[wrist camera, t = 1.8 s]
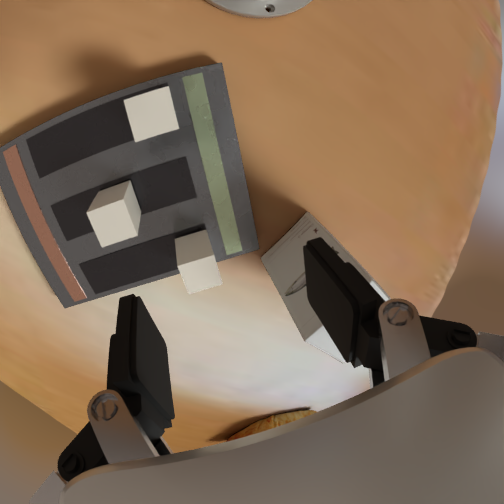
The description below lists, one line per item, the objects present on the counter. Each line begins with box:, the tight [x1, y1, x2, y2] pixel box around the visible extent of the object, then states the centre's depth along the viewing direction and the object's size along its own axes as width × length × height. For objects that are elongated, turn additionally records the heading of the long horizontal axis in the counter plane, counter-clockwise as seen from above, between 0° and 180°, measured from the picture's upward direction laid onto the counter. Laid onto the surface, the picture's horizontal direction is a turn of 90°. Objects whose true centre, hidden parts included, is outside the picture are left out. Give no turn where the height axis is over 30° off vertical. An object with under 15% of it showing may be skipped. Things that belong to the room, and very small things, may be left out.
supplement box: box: [261, 212, 391, 363], centre depth 29 cm, size 7×7×13 cm
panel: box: [0, 63, 259, 308], centre depth 24 cm, size 18×22×2 cm
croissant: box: [226, 410, 317, 442], centre depth 53 cm, size 21×10×8 cm, turn 106°
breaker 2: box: [124, 86, 179, 142], centre depth 19 cm, size 3×3×4 cm
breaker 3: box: [175, 230, 223, 294], centre depth 26 cm, size 3×3×4 cm
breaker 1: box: [86, 180, 141, 247], centre depth 22 cm, size 3×3×4 cm
